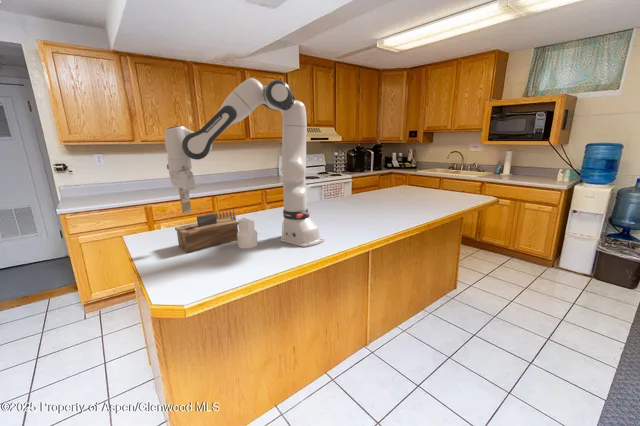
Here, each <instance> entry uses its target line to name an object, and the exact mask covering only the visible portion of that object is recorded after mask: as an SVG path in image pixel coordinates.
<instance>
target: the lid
mask: <svg viewBox="0 0 640 426" xmlns="http://www.w3.org/2000/svg"><path fill="white" fill-rule="evenodd" d="M234 225H238V226H239V223H238V220H236V221H235V220H232V219H230V218H228V217H226V216H225V218H223V217H222V218H220V219H216V213H213V212H212V213H210V214H209V213H207V214H204V215H197V216H196V222H195V223H191V224H185V225H181V226H175V227H174V230H175V231H176V233H177V232H179V233H180V234H182V235H183V236H189V235H194V234H198V233H203V232H207V231H212V230H216V229H221V228H225V227H230V226H234Z"/></svg>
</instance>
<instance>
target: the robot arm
mask: <svg viewBox="0 0 640 426" xmlns="http://www.w3.org/2000/svg"><path fill="white" fill-rule="evenodd" d="M260 105H263V106H264V107H266V108H267V109H269V110H272V111H279V112H280V113H281V118H282V129H281V131H282V133H281V134H282V135H281V136H282V138H281V139H282V140H281V145H282V146H281V170H280V171H281V175H282V189H283V191H282V194H283V195H282V196H283V199H282V200H283V210H282V214H283V215H282V216H283V222H282V226H281V237H280V240H279V241H280V242H283V243H287V244H291V245H295V246H299V247H302V248H305V247H312V246H315V245H319V244H321V243H323V242H324V241H326V239H325V237H324V236H321V235H320V234H321V233H320V229H319V226H318V224H316V223H315V222H314V221H313V220H312V219H311V217H310V215H311V212H310V211H309V209H308V207H307V203H308V202H307V183H306V182H307V181H306V172H307V137H308V136H307V131H308V126H307V125H308V123H307V122H308V121H307V119H308V118H307V112H306V111H307V110H306V105H305V104H304V103H303V102H302V101H301V100H297V99H295V96H294V94H293V92H292V90H291V87H290V86H289V84H287V82H285V81H284V80H280V79H275V80H272V81H270V82H269V83H268V85H264V84H262V83H261V82H260V80H258V79H256V78H254V77H249V78H247V79H246V80H243V82H241V83H239V85H238V86H236V87H235V88H234V89H233V90H232V91H231V93H228V96H226V98H225V100H223V102H222V103H221V105H220V107H219V108H218V111H217V112H216V113H215V114H214V116H212V118H210V119H209V120H208V121H207V123H205V124H204V125H203V126H202V127H201V128H200V129H199V130H197V131H193V130H190V129H188V128H187V127H185V126H184V125H176V126H175V125H174V126H171V127H168V128H166V129H165V131H164V145H165V149H166V153H167V164H166V169H167V170H168V174H169V179H170V182H171V184H172V186H173V187H177V190H178V191H179V190H183V191H184V198H185V199H188V198H189V197H190V190H195V189H196V183H195V177H194V173H193V171H192V169H193V166H192V160H195V161H196V160H202V159H204V158H205V157H207V156H208V155H209V154H210V153H211V152H212V149H213V143H214V141H216V139H217V138H218V137H219V136H221V134H222V133H223V132H224V131H225V130H226V129H228V128H229V127H230V126H233V125H234V124H237V123H239V122H241V121H243V120H244V119H246V118H247V117H248V116H249V115H250V114H251V113H252V112H253V111H255V109H256V108H257V107H258V106H260Z"/></svg>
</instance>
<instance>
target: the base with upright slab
mask: <svg viewBox="0 0 640 426" xmlns="http://www.w3.org/2000/svg"><path fill="white" fill-rule="evenodd" d="M237 222H238V223H239V225H238V233H237V241H236V242H237V247H238V248H240V249H252V248H256V247H257V246H258V245H259V243H258V242H259V241H258V231H257V230H255V220H252V219H249V218H245V217H241V218H238V219H237Z"/></svg>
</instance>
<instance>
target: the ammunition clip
mask: <svg viewBox="0 0 640 426" xmlns="http://www.w3.org/2000/svg"><path fill="white" fill-rule="evenodd" d="M215 214H216V219H220V218H225V217H228V218H230V219H232V220H235V221H237V216H236V211H235V209H234V208H233V210H232V209H229V211H228V209H226V211H225V210H222V212H221V210H219V212H218V211H217V210H216V211H215Z"/></svg>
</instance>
